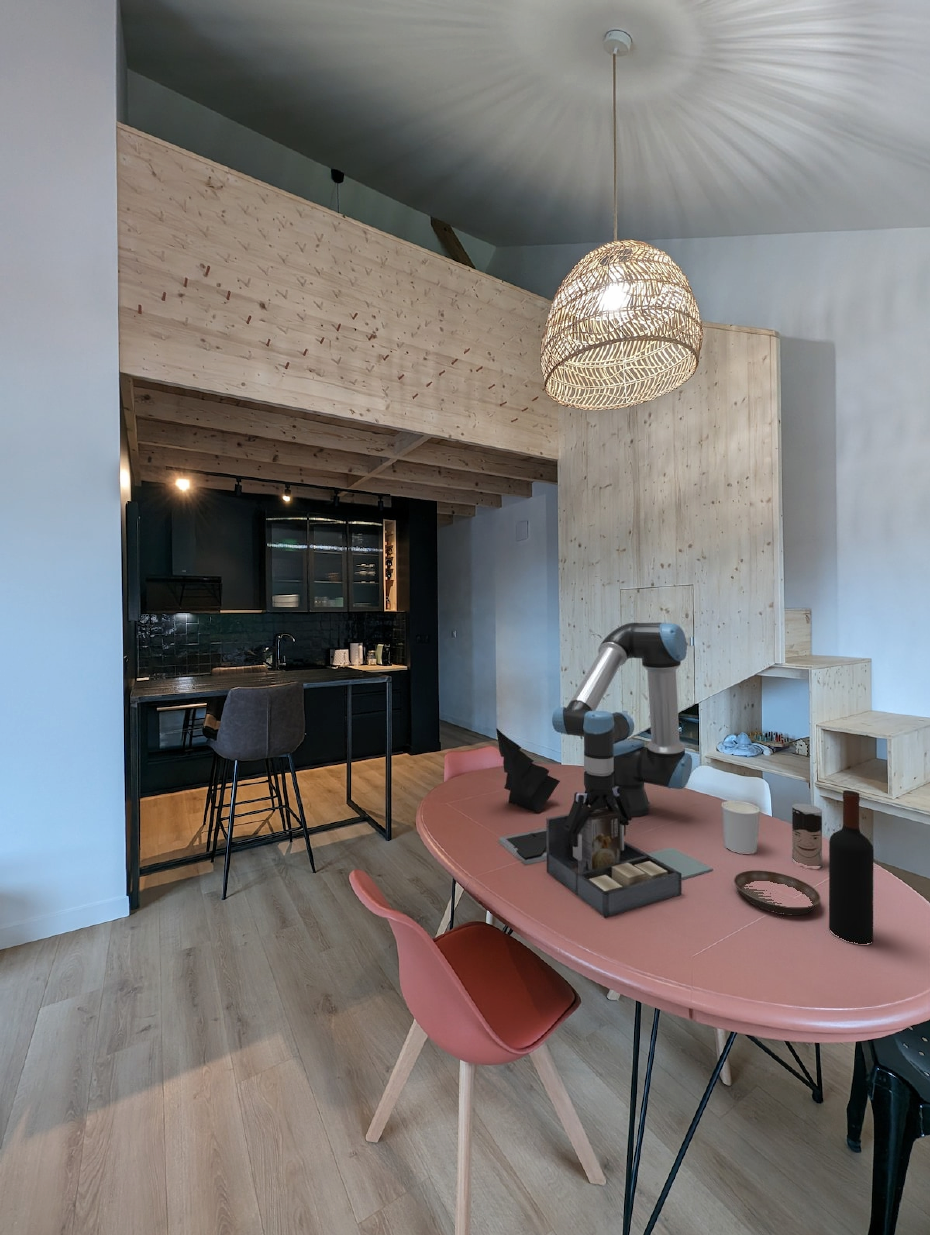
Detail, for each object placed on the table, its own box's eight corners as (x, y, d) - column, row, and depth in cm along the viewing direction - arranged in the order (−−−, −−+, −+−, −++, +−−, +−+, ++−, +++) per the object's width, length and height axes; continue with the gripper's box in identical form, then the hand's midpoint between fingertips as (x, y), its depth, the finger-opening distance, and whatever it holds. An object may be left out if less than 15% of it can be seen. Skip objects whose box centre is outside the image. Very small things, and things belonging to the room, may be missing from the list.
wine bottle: (820, 925, 116) (820, 787, 116) (853, 923, 117) (853, 786, 117) (848, 946, 109) (848, 799, 108) (882, 944, 109) (883, 798, 109)
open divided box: (615, 854, 151) (615, 804, 150) (681, 894, 129) (681, 836, 129) (546, 871, 141) (546, 818, 141) (605, 917, 120) (605, 855, 119)
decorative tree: (512, 810, 193) (468, 740, 180) (535, 779, 201) (494, 710, 188) (542, 822, 182) (498, 748, 169) (566, 789, 189) (525, 716, 176)
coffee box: (605, 865, 144) (605, 805, 144) (621, 876, 138) (621, 814, 138) (577, 872, 141) (576, 811, 140) (592, 883, 135) (591, 819, 134)
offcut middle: (627, 886, 133) (627, 862, 133) (645, 898, 128) (645, 873, 128) (611, 891, 131) (611, 866, 131) (629, 903, 126) (628, 877, 126)
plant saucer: (721, 880, 136) (721, 868, 136) (792, 881, 136) (792, 869, 136) (756, 921, 118) (756, 907, 118) (838, 922, 118) (838, 908, 118)
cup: (786, 860, 146) (786, 806, 146) (802, 856, 149) (802, 802, 149) (811, 871, 140) (811, 814, 140) (827, 866, 143) (827, 810, 143)
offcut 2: (649, 880, 136) (649, 861, 136) (667, 891, 131) (667, 871, 131) (634, 885, 134) (634, 865, 134) (651, 896, 129) (651, 875, 129)
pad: (671, 849, 153) (671, 847, 153) (713, 870, 141) (713, 868, 141) (634, 859, 148) (633, 857, 148) (673, 882, 135) (673, 880, 135)
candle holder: (764, 848, 154) (764, 806, 154) (754, 859, 147) (754, 816, 147) (727, 838, 161) (727, 798, 160) (716, 849, 153) (716, 807, 153)
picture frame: (525, 868, 145) (588, 853, 153) (525, 857, 144) (588, 843, 153) (498, 844, 159) (558, 832, 167) (498, 835, 159) (558, 823, 167)
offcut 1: (605, 893, 130) (605, 874, 130) (622, 905, 125) (622, 886, 125) (588, 897, 128) (588, 879, 128) (604, 910, 123) (604, 891, 123)
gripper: (626, 762, 148) (626, 839, 148) (550, 774, 137) (550, 856, 137) (646, 769, 141) (646, 849, 141) (567, 782, 130) (567, 869, 131)
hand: (598, 853), depth 139 cm, fingers open, 13 cm apart
